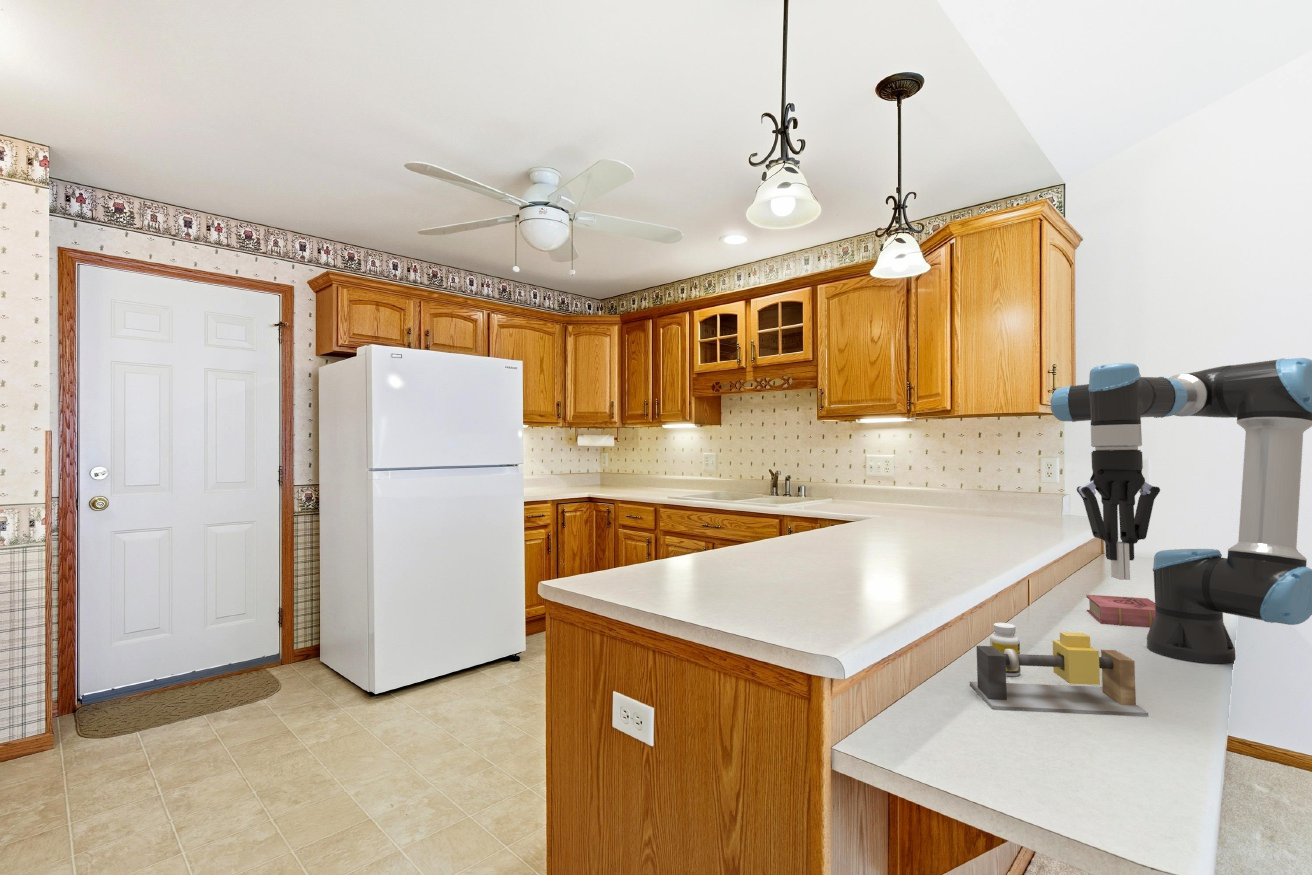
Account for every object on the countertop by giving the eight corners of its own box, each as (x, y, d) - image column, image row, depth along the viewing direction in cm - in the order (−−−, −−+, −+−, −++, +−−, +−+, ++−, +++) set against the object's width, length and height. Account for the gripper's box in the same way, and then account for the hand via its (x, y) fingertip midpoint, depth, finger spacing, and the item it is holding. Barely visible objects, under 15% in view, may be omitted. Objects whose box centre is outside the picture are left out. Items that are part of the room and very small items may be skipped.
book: (1101, 625, 164) (1101, 606, 164) (1086, 612, 178) (1086, 594, 178) (1169, 631, 159) (1168, 611, 159) (1148, 616, 173) (1147, 598, 173)
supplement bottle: (1024, 677, 126) (1023, 629, 127) (995, 676, 128) (994, 627, 128) (1015, 668, 132) (1013, 621, 132) (987, 667, 133) (985, 620, 133)
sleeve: (1082, 673, 117) (1081, 630, 118) (1099, 684, 111) (1098, 639, 112) (1053, 672, 118) (1052, 629, 118) (1069, 683, 112) (1067, 638, 112)
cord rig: (1109, 690, 119) (1107, 643, 120) (1148, 716, 107) (1146, 663, 108) (969, 684, 123) (968, 638, 123) (992, 709, 111) (991, 658, 112)
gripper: (1143, 448, 117) (1148, 574, 117) (1066, 449, 119) (1070, 573, 119) (1169, 448, 110) (1174, 583, 109) (1087, 449, 112) (1091, 581, 111)
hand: (1120, 578), depth 114 cm, fingers closed
